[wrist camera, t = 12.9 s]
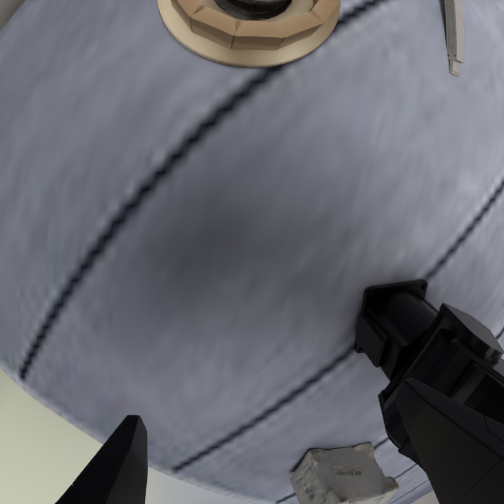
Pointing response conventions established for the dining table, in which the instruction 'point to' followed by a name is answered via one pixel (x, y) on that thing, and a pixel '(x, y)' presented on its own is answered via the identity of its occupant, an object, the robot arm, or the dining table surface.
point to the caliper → (454, 34)
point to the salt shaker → (254, 8)
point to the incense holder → (342, 477)
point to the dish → (250, 31)
